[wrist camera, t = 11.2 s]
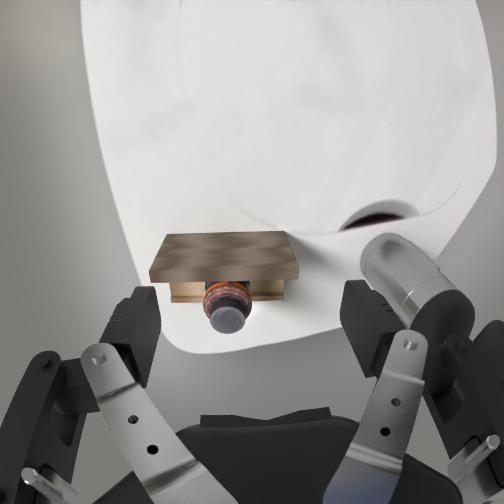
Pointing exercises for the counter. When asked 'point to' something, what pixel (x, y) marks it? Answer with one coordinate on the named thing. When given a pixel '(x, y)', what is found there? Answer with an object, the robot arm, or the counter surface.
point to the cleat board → (224, 263)
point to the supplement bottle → (227, 304)
